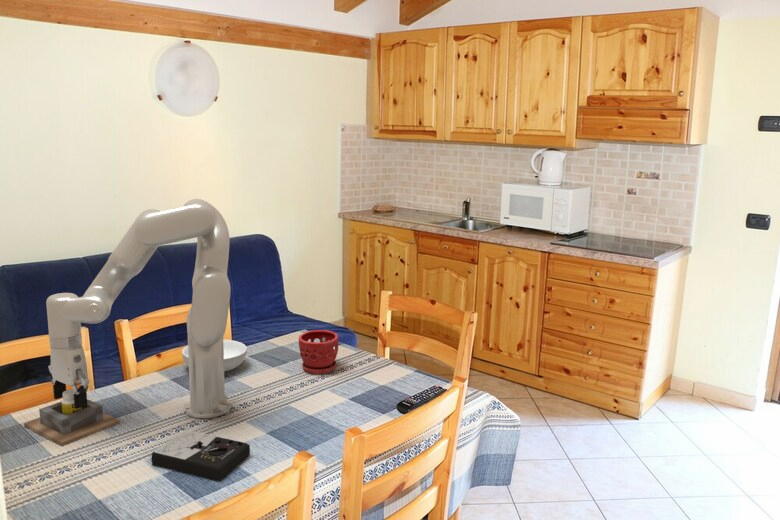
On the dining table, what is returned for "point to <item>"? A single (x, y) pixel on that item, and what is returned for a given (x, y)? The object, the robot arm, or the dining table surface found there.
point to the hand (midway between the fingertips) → (70, 402)
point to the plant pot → (318, 351)
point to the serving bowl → (226, 354)
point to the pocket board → (72, 434)
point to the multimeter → (201, 455)
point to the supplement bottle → (68, 402)
